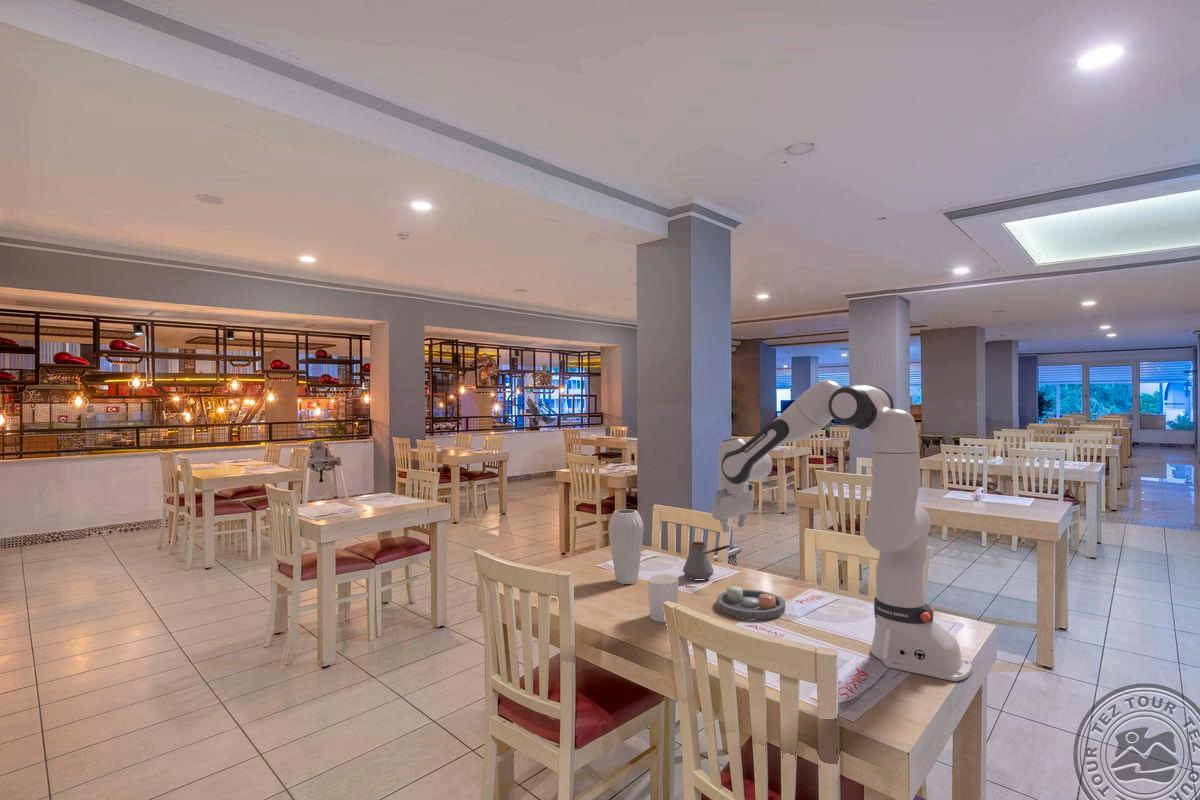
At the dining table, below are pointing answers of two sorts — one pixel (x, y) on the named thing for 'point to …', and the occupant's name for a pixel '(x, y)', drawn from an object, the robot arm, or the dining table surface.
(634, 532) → the vase
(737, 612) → the groove tray
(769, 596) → the terracotta bead
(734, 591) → the sage bead
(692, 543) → the coffee pot
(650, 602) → the white paper cup
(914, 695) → the dining table surface
